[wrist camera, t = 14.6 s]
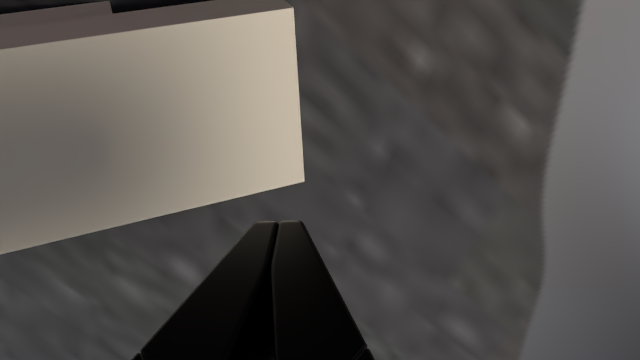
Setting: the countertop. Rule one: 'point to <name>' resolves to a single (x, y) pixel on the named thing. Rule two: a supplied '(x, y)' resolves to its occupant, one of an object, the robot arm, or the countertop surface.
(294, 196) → the countertop surface
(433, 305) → the countertop surface
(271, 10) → the domino
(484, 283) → the countertop surface
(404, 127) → the countertop surface
